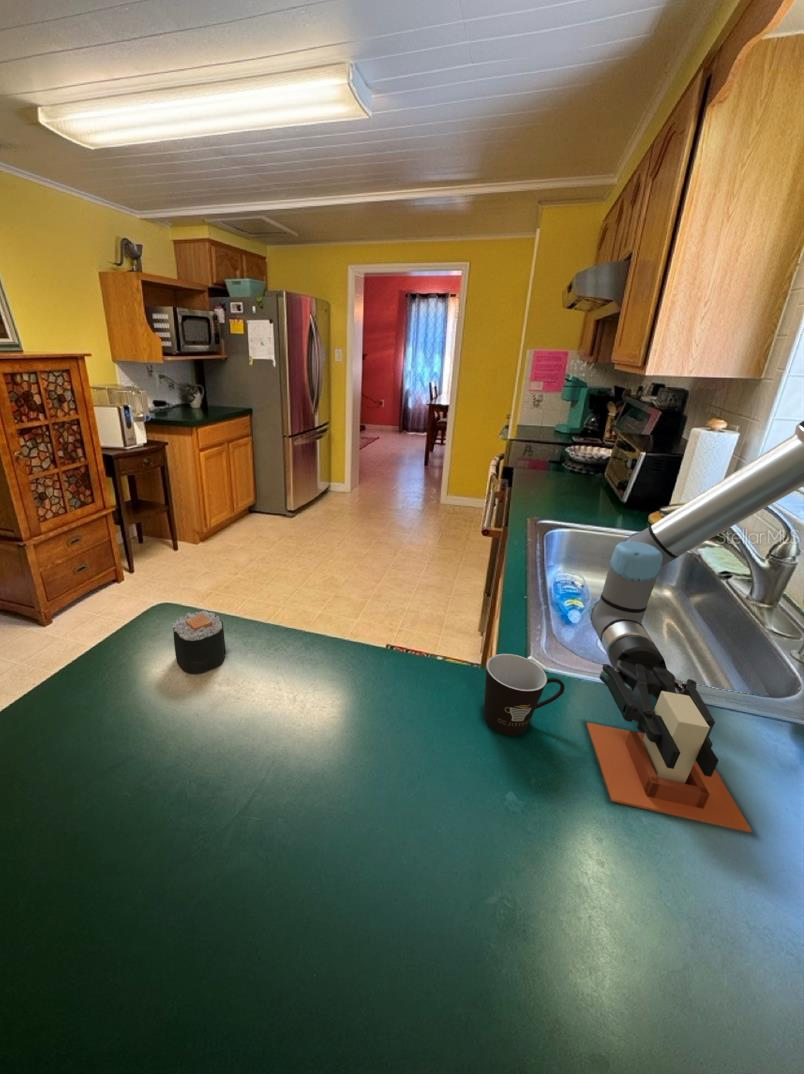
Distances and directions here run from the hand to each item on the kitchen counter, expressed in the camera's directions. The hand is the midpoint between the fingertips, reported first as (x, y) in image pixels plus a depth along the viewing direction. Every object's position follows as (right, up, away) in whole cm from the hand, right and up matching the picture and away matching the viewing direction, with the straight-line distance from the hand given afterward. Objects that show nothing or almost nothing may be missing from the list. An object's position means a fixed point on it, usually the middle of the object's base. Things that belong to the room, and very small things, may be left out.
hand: (692, 763), depth 58 cm
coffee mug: (-17, -2, +15) cm, 23 cm away
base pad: (+1, -6, +8) cm, 10 cm away
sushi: (-69, +6, +26) cm, 74 cm away
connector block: (+1, -4, +7) cm, 8 cm away
